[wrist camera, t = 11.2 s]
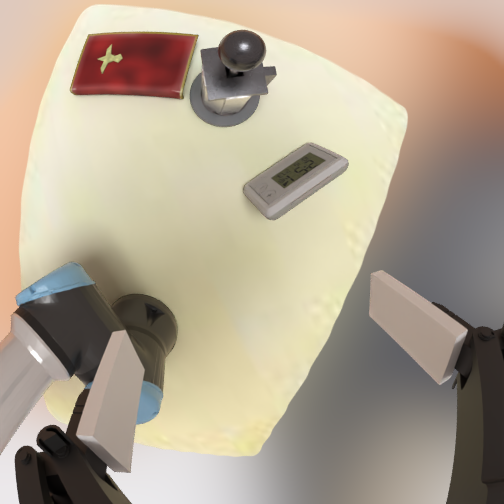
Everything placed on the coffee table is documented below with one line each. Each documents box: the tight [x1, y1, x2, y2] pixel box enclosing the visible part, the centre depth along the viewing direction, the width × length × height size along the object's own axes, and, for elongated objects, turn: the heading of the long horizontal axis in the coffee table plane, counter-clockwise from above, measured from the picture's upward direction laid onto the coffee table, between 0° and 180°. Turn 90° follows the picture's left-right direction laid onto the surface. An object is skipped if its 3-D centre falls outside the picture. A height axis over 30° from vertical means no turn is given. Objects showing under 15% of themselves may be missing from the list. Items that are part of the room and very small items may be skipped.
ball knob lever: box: [218, 30, 266, 78], centre depth 29 cm, size 5×5×19 cm
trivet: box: [190, 72, 260, 127], centre depth 41 cm, size 12×12×1 cm
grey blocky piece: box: [200, 47, 277, 116], centre depth 35 cm, size 10×8×13 cm
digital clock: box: [243, 143, 349, 220], centre depth 43 cm, size 16×9×11 cm, turn 112°
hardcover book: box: [70, 32, 198, 99], centre depth 35 cm, size 12×21×4 cm, turn 79°
